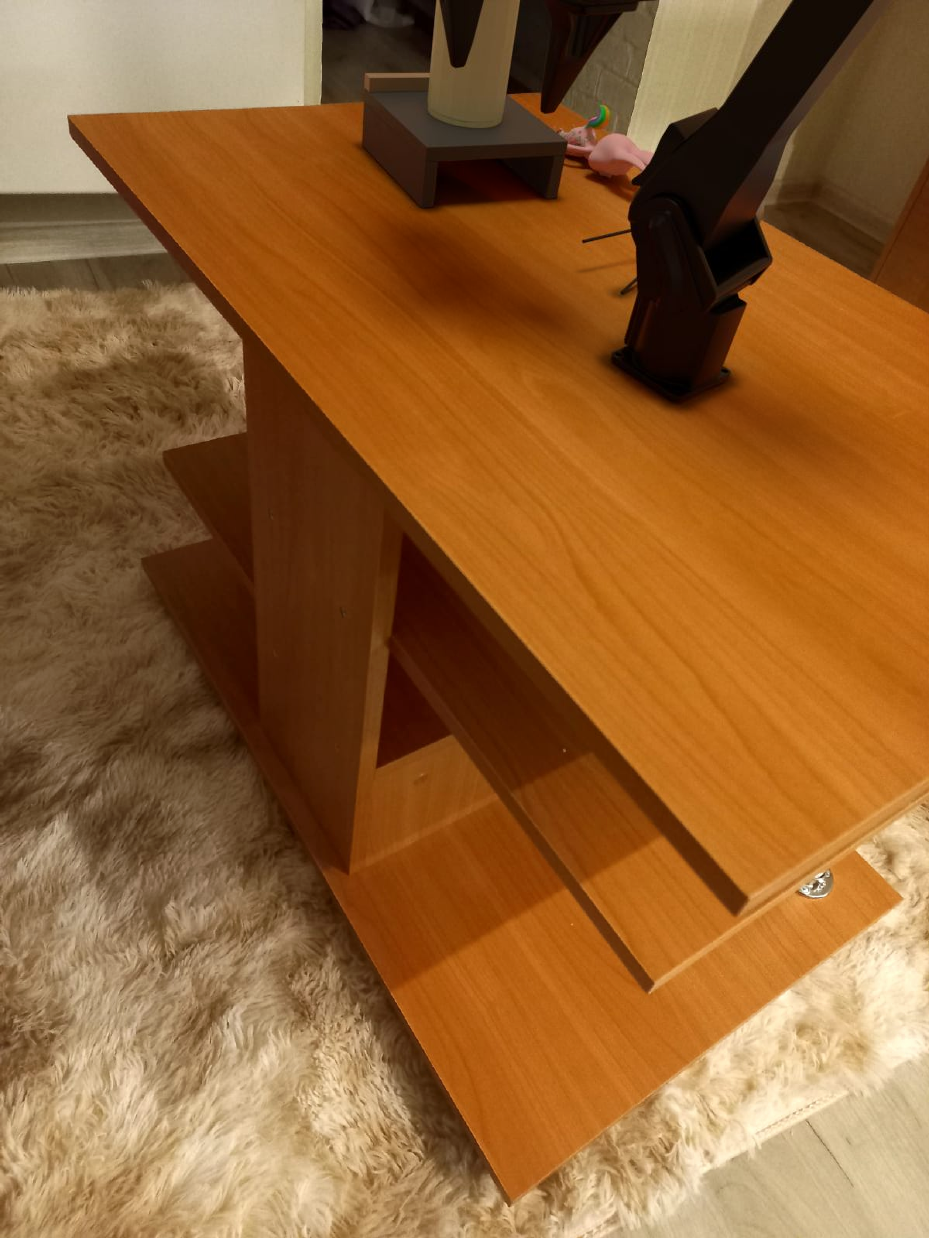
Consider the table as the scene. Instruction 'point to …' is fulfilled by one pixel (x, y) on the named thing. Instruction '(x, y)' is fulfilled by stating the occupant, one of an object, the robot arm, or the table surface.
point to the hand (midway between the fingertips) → (500, 89)
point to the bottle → (474, 69)
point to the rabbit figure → (605, 147)
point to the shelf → (451, 138)
